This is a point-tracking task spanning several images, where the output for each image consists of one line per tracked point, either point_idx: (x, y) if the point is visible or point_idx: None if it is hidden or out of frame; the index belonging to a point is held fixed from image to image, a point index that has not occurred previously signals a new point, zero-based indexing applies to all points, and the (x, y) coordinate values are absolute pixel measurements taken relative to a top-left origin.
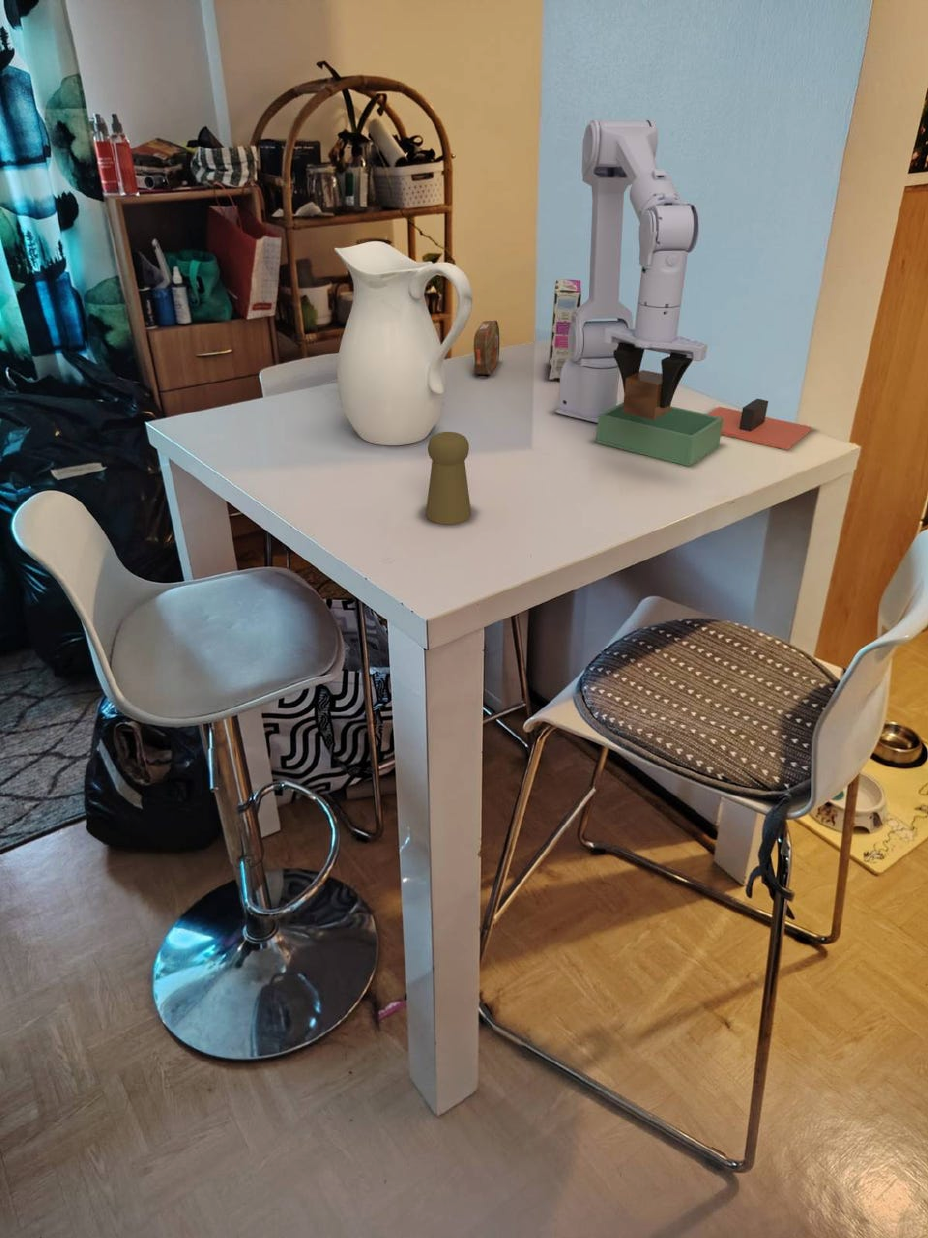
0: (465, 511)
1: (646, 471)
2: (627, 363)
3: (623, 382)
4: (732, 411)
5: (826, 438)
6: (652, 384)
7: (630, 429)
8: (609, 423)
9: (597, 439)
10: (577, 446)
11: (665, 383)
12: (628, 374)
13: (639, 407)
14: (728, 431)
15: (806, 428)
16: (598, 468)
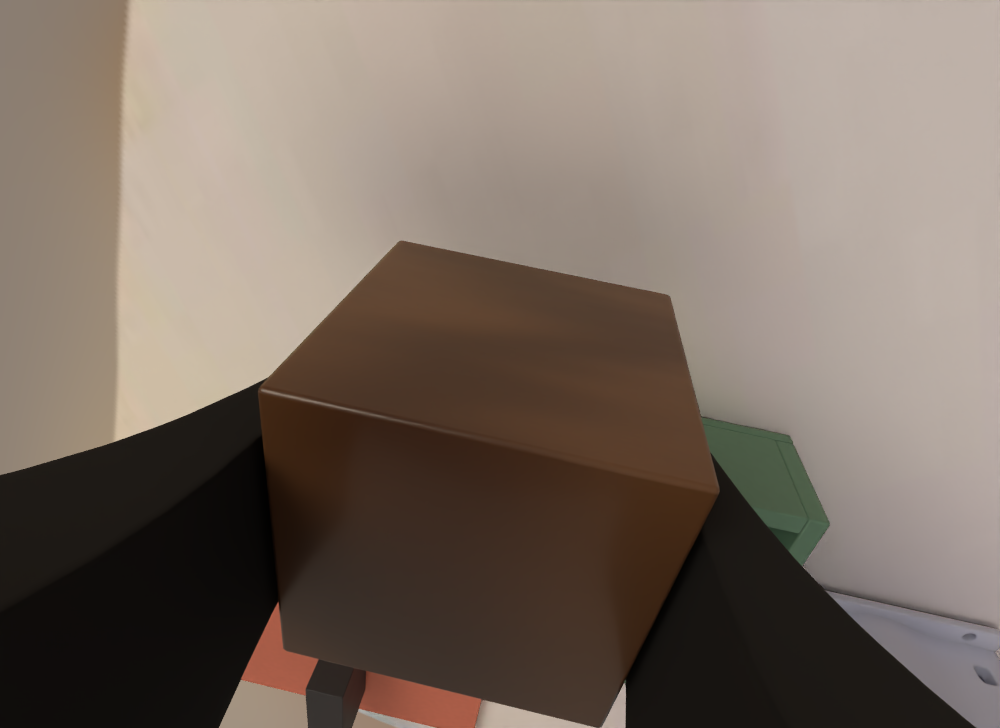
0: None
1: (510, 232)
2: (775, 703)
3: (742, 505)
4: (431, 719)
5: None
6: (338, 399)
7: None
8: (758, 489)
9: (788, 442)
10: (870, 371)
11: (197, 438)
12: (707, 572)
13: (519, 295)
14: None
15: None
16: (728, 162)
